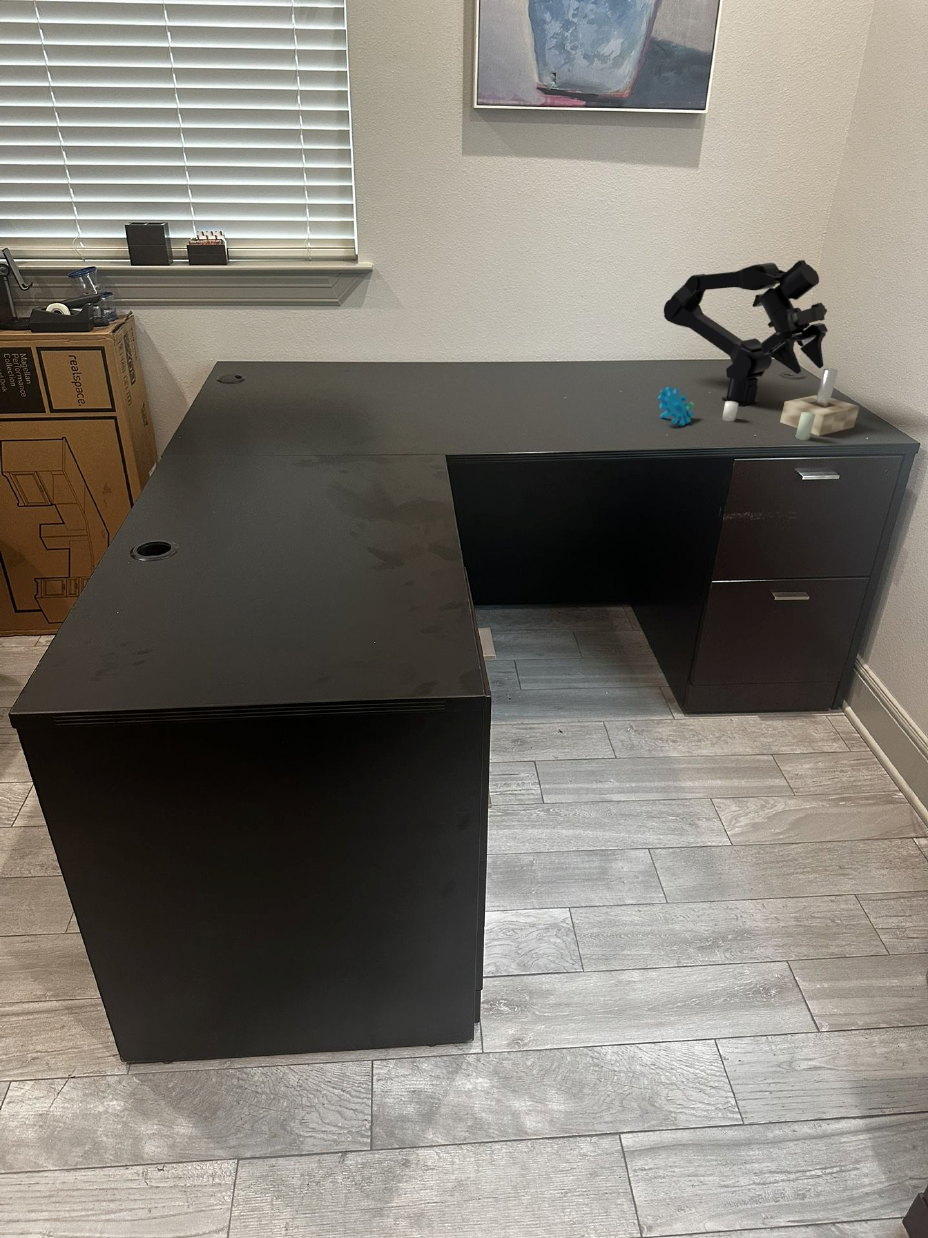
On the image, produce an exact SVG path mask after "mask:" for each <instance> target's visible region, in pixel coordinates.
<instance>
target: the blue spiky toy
mask: <svg viewBox="0 0 928 1238" xmlns="http://www.w3.org/2000/svg"><path fill="white" fill-rule="evenodd" d="M672 391H673V393H672ZM659 393H660V395H659V396H658V397H657V400H658V402H661V403H660V404H659V409H660V410H661V411H663V410H665V411H664V412H662V413H661V414H660V415H659V418H660V419H661V420H662V419H663V420H664V418H665V419H669V418H670V417H673V418H672V419H671V420H670V422H671V423H672V424H673V425H674V426H675V425H676V424H678V426H679V427H680V426H681V427H683V426H685V425H687V424H689V423H691V421H692V420H691V417H693V415H694V413H693V411H691V410H690V409H692V407H693V406H695V403H694V402H693V401H690V402H685V401H686V400H687V399H688V397H687V396H686V394H682V395H681V396H678V395H679V394H680V393H681V390H680V389H679V388H677V387H676V388H675V389H674V388H673V387H672V386H667V387H665V388H662V389H661V390H660V391H659ZM678 421H679V422H678Z"/></svg>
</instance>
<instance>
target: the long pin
mask: <svg viewBox="0 0 928 1238" xmlns="http://www.w3.org/2000/svg"><path fill="white" fill-rule="evenodd" d="M822 372H823V373H822V377H821V379H820V384H819V388H818V392H817V394H816V395H817V399H816V403H815V405H816V406H819V407H822V408H827V407H828V406H829V403H830V399H831V398H832V394H833V391H834V388H835V387H834V386H835V383H836V379H837V376H838V375H837V374H838V372H839V370H838V369H836V368H831V367H830V368H829V367H825V368H823V371H822Z"/></svg>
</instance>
